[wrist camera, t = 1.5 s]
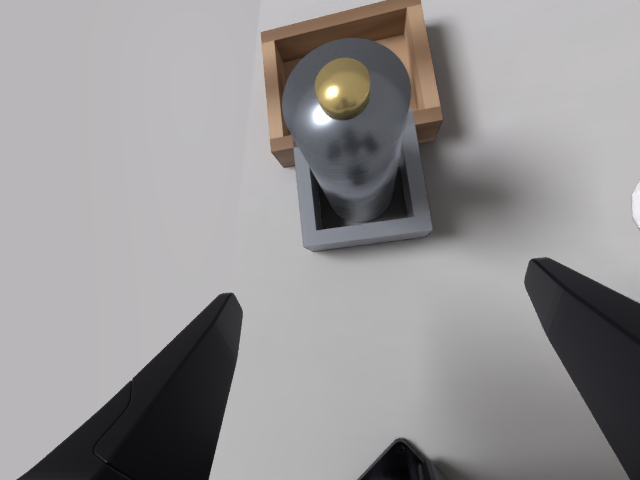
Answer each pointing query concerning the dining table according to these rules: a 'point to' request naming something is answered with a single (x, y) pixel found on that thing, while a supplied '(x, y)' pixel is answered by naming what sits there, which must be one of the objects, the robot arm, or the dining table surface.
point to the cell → (350, 122)
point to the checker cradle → (369, 232)
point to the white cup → (636, 204)
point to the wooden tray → (363, 22)
